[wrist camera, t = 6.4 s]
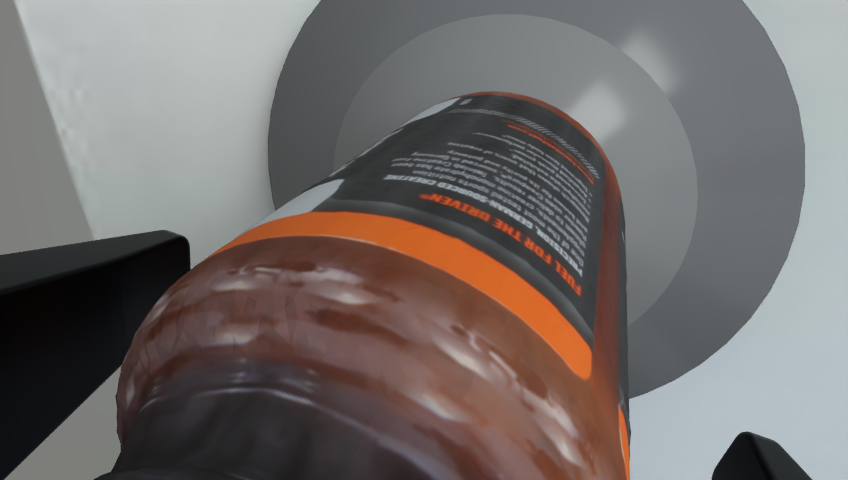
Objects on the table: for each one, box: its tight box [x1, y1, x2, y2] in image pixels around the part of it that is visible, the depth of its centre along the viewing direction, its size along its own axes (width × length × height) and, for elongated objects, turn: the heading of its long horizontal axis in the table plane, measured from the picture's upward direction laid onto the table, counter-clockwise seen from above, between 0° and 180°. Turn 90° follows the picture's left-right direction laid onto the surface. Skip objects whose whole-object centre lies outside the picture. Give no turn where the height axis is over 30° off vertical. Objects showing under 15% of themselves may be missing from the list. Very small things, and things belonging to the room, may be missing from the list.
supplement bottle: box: [94, 91, 631, 480], centre depth 8 cm, size 6×6×11 cm
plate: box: [268, 0, 805, 399], centre depth 14 cm, size 13×13×1 cm
